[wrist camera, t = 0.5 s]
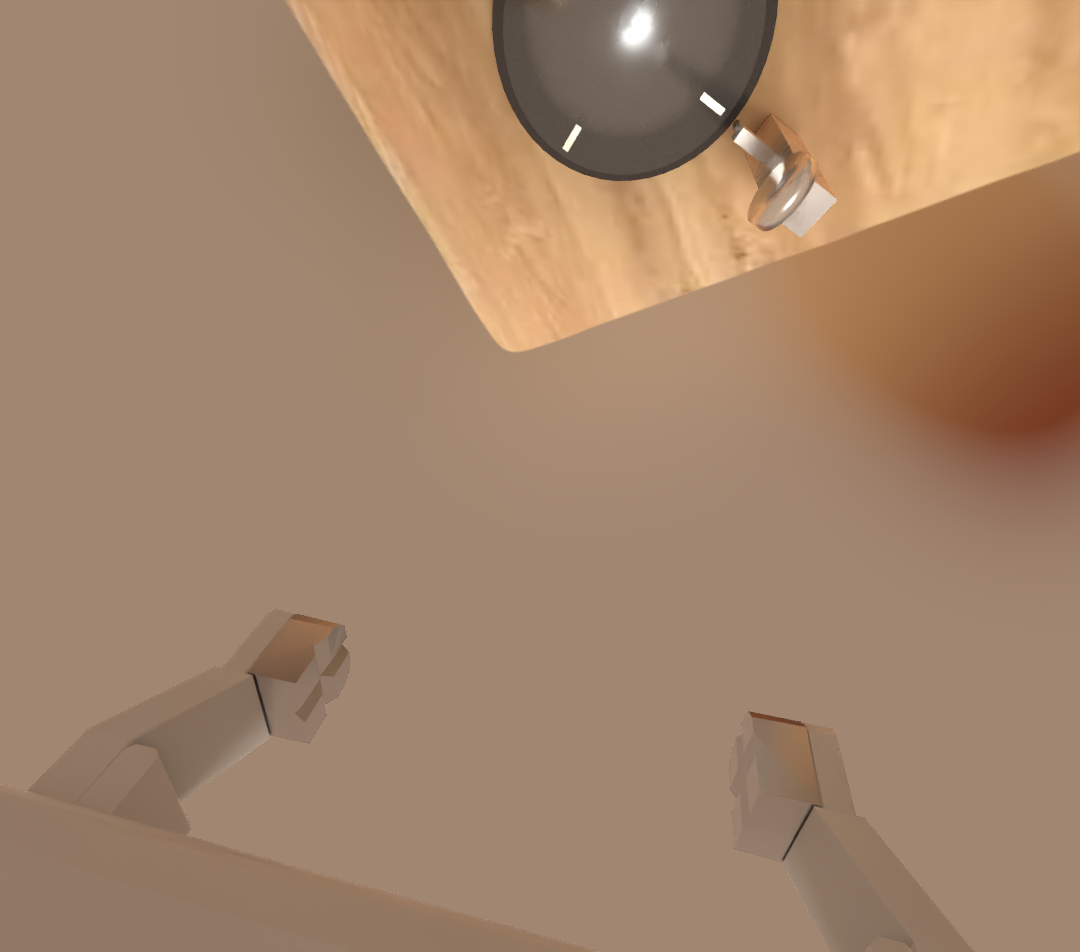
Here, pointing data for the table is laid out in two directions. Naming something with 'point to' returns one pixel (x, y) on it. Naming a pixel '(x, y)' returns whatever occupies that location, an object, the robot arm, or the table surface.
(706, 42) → the turntable platter
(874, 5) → the table surface
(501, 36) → the turntable base
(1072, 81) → the table surface
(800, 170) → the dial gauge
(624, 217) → the table surface
